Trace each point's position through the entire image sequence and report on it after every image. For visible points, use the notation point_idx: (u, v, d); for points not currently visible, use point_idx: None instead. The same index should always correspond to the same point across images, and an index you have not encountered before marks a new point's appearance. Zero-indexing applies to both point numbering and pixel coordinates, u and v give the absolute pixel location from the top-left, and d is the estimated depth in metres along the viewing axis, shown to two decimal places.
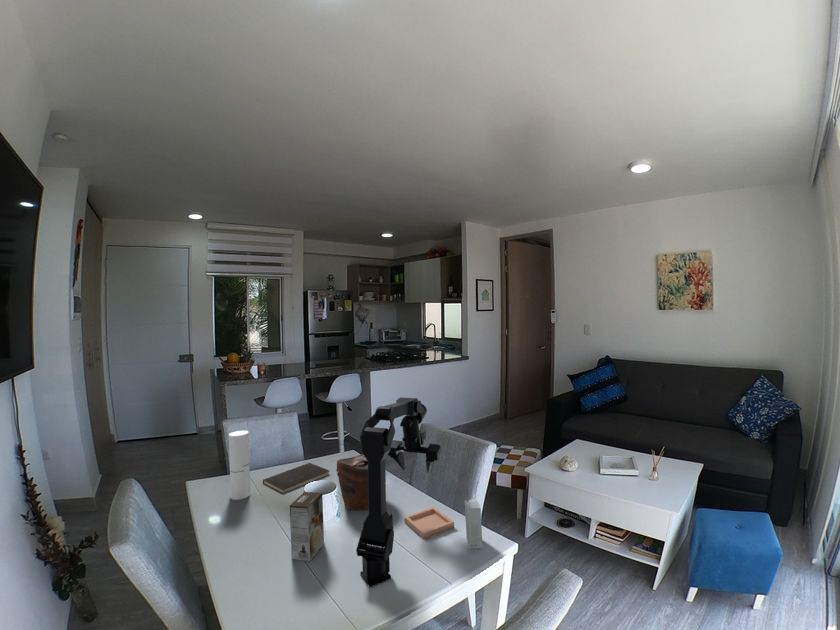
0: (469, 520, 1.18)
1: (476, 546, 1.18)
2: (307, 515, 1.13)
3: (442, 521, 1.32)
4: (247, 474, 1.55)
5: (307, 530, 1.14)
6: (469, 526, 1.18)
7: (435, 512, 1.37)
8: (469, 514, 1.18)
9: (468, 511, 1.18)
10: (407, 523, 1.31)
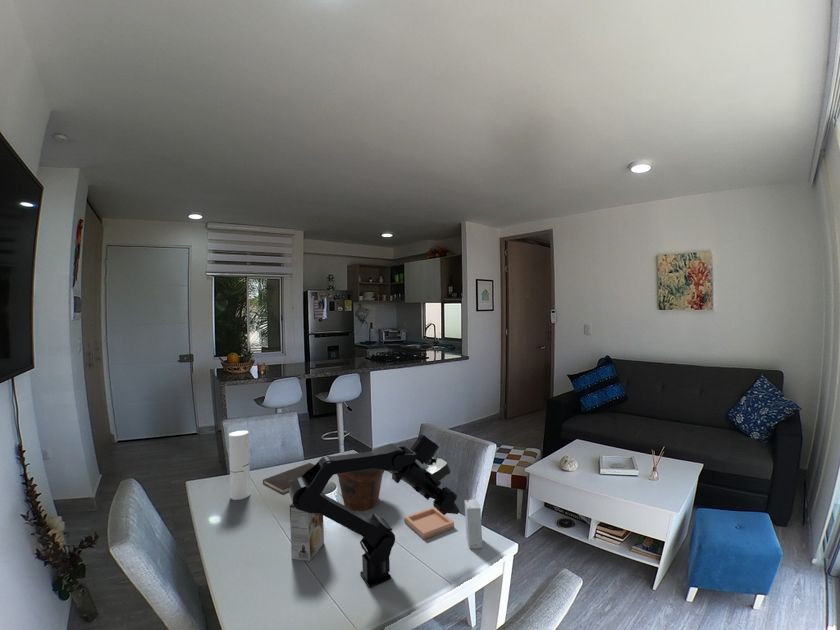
0: (469, 520, 1.18)
1: (476, 546, 1.18)
2: (307, 515, 1.13)
3: (442, 521, 1.32)
4: (247, 474, 1.55)
5: (307, 530, 1.14)
6: (469, 526, 1.18)
7: (435, 512, 1.37)
8: (469, 514, 1.18)
9: (468, 511, 1.18)
10: (407, 523, 1.31)
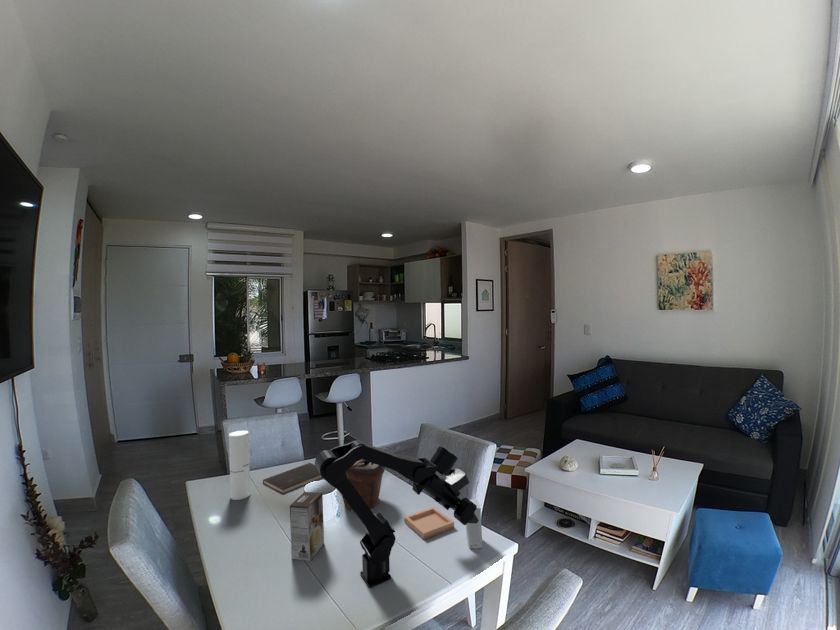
0: None
1: (476, 546, 1.18)
2: (307, 515, 1.13)
3: (442, 521, 1.32)
4: (247, 474, 1.55)
5: (307, 530, 1.14)
6: (469, 526, 1.18)
7: (435, 512, 1.37)
8: None
9: None
10: (407, 523, 1.31)
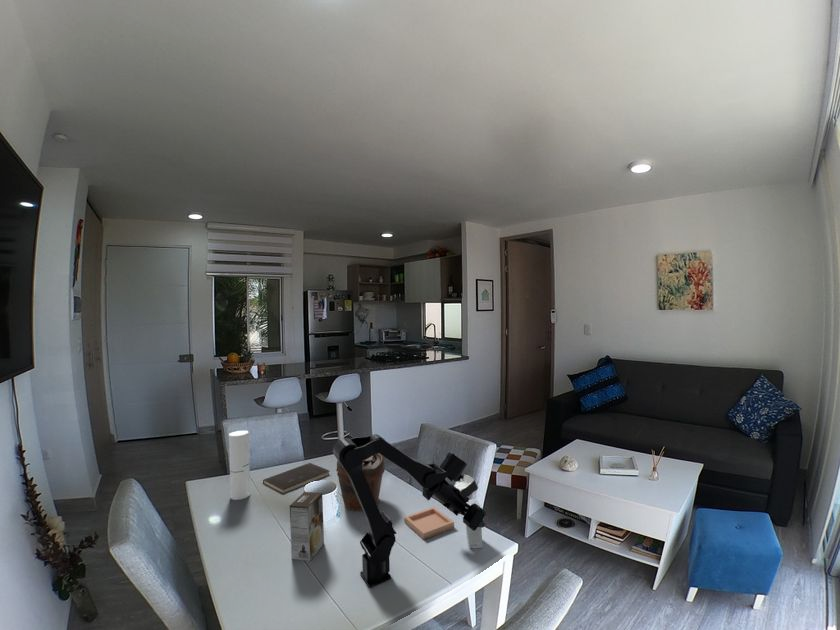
0: None
1: (476, 546, 1.18)
2: (307, 515, 1.13)
3: (442, 521, 1.32)
4: (247, 474, 1.55)
5: (307, 530, 1.14)
6: None
7: (435, 512, 1.37)
8: None
9: None
10: (407, 523, 1.31)
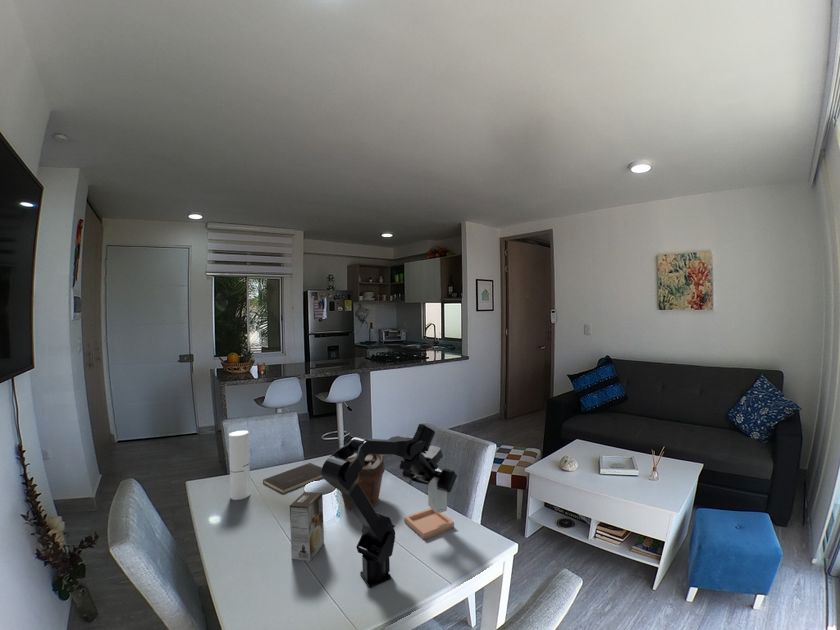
0: (437, 487, 1.26)
1: (442, 510, 1.27)
2: (307, 515, 1.13)
3: (442, 521, 1.32)
4: (247, 474, 1.55)
5: (307, 530, 1.14)
6: (437, 493, 1.26)
7: (435, 512, 1.37)
8: None
9: (436, 479, 1.26)
10: (407, 523, 1.31)
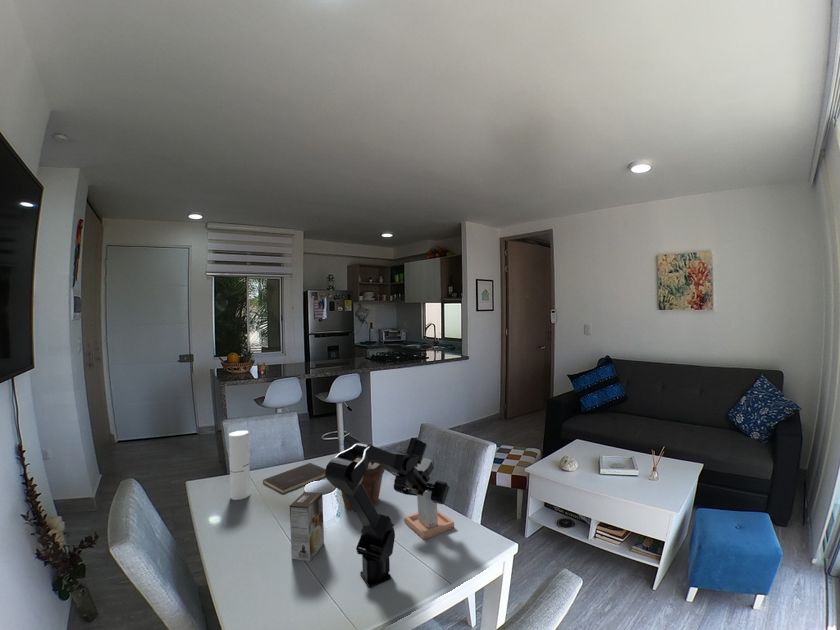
0: (427, 502, 1.28)
1: (433, 524, 1.29)
2: (307, 515, 1.13)
3: (442, 521, 1.32)
4: (247, 474, 1.55)
5: (307, 530, 1.14)
6: (427, 507, 1.28)
7: None
8: (428, 496, 1.28)
9: (426, 494, 1.28)
10: (407, 523, 1.31)
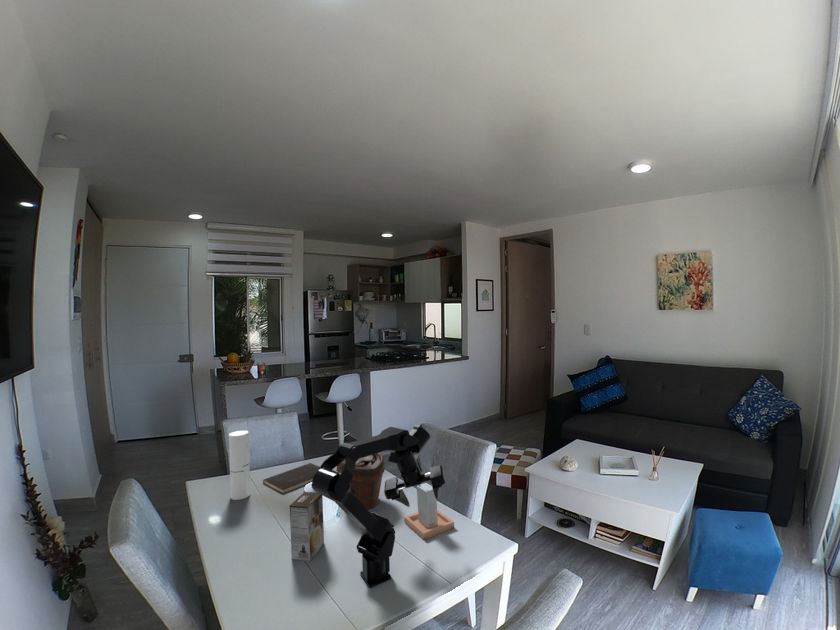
0: (427, 502, 1.28)
1: (433, 524, 1.29)
2: (307, 515, 1.13)
3: (442, 521, 1.32)
4: (247, 474, 1.55)
5: (307, 530, 1.14)
6: (427, 507, 1.28)
7: None
8: (428, 496, 1.28)
9: (426, 494, 1.28)
10: (407, 523, 1.31)
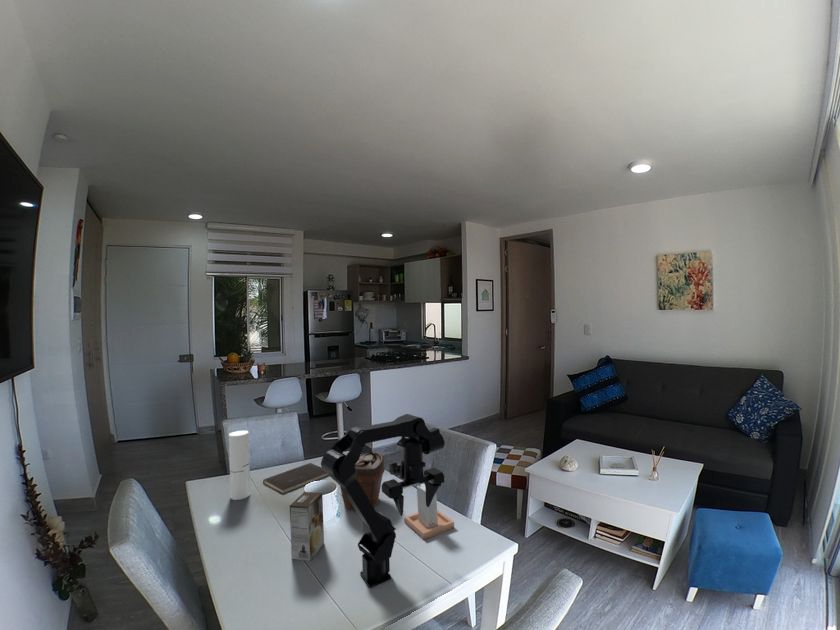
0: None
1: (433, 524, 1.29)
2: (307, 515, 1.13)
3: (442, 521, 1.32)
4: (247, 474, 1.55)
5: (307, 530, 1.14)
6: (427, 507, 1.28)
7: None
8: None
9: None
10: (407, 523, 1.31)
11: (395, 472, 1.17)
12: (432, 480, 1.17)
